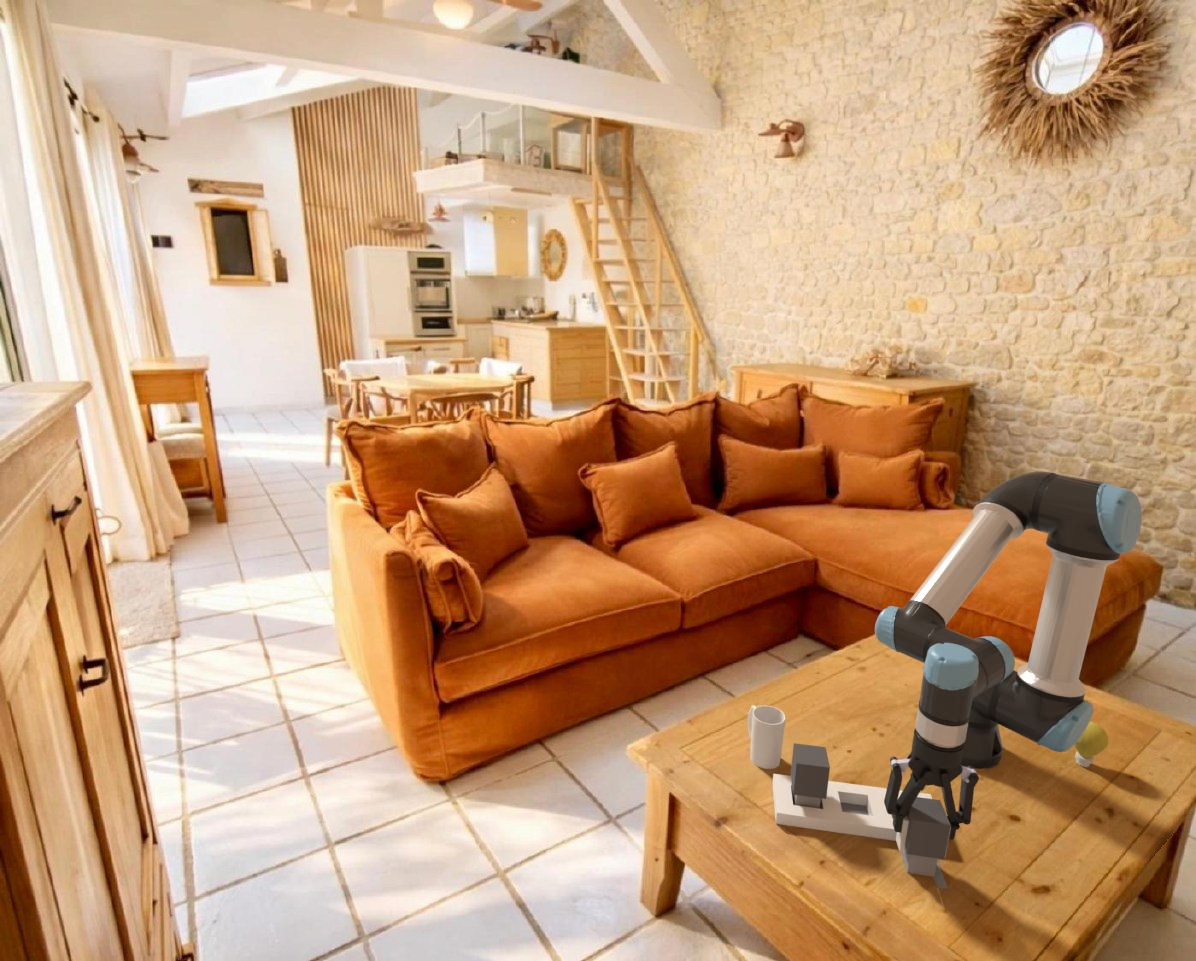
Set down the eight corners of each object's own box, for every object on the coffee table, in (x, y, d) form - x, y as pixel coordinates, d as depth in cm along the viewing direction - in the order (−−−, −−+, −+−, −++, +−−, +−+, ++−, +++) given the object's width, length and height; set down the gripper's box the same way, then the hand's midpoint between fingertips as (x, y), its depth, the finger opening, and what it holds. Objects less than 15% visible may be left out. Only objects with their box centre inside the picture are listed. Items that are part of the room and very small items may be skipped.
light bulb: (1097, 758, 150) (1107, 719, 147) (1104, 777, 144) (1115, 737, 141) (1061, 750, 153) (1070, 711, 150) (1067, 768, 147) (1076, 728, 144)
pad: (934, 854, 124) (934, 852, 124) (947, 891, 116) (948, 888, 116) (887, 848, 125) (888, 845, 125) (898, 884, 118) (898, 881, 117)
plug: (930, 855, 123) (940, 800, 120) (940, 883, 117) (950, 825, 114) (895, 850, 124) (903, 795, 121) (903, 877, 118) (912, 820, 115)
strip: (927, 808, 135) (931, 790, 134) (944, 852, 124) (948, 832, 123) (771, 788, 140) (773, 770, 139) (775, 828, 130) (777, 809, 128)
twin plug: (819, 798, 136) (825, 747, 133) (823, 820, 130) (829, 767, 127) (788, 794, 137) (793, 743, 134) (791, 816, 131) (796, 763, 128)
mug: (787, 768, 146) (792, 720, 143) (761, 777, 143) (765, 727, 140) (758, 741, 155) (762, 694, 151) (733, 748, 152) (737, 701, 149)
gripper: (993, 728, 115) (971, 840, 121) (874, 714, 118) (859, 824, 125) (1010, 756, 108) (986, 874, 114) (883, 741, 111) (867, 857, 118)
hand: (920, 848), depth 120 cm, fingers closed on plug, 6 cm apart
